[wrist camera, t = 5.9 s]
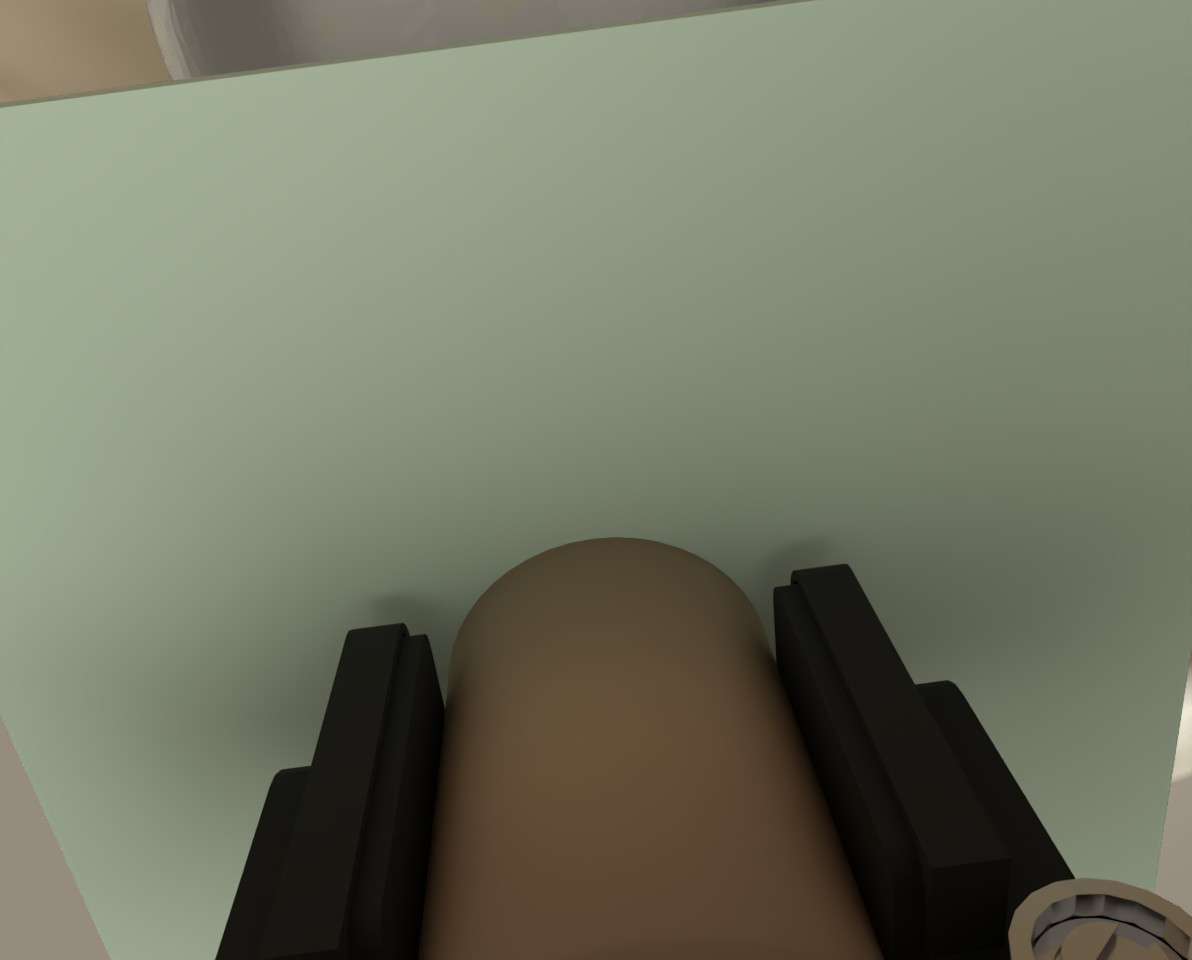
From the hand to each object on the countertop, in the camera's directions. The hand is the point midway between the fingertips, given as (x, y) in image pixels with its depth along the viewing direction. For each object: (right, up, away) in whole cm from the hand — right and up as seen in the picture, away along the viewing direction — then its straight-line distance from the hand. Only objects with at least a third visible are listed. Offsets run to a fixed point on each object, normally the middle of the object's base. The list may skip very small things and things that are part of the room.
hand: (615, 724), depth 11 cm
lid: (0, +1, +2) cm, 2 cm away
